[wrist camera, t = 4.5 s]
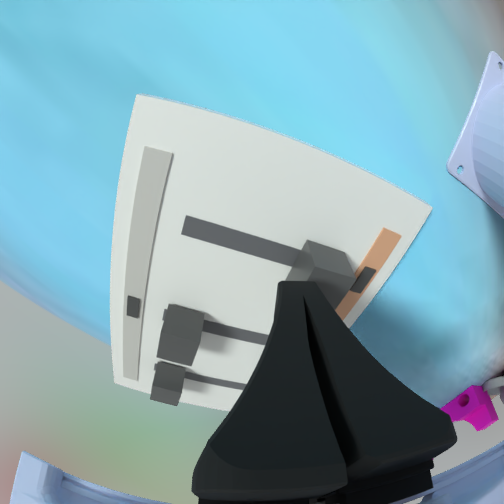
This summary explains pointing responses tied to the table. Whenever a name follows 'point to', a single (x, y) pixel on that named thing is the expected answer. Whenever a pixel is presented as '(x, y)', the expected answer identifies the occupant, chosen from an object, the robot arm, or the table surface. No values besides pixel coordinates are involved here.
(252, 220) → the switch panel
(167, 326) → the tab
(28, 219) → the table surface
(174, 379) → the tab
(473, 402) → the toy block
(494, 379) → the ceramic mug
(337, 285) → the tab
